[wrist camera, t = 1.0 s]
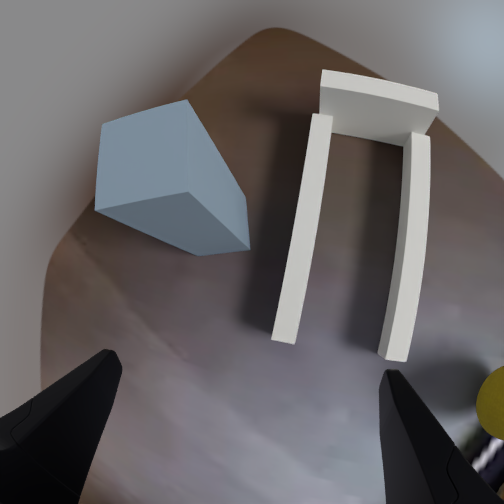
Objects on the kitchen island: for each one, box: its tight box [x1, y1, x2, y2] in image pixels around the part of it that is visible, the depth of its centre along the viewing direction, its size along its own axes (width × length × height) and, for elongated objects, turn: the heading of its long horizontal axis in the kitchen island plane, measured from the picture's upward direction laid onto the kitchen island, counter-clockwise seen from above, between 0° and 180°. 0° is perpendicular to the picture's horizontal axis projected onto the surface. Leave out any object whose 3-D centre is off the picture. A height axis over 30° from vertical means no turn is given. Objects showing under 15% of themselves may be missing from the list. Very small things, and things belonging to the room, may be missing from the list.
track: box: [271, 70, 439, 362], centre depth 20 cm, size 18×9×6 cm, turn 168°
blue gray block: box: [95, 100, 250, 256], centre depth 18 cm, size 4×4×13 cm
